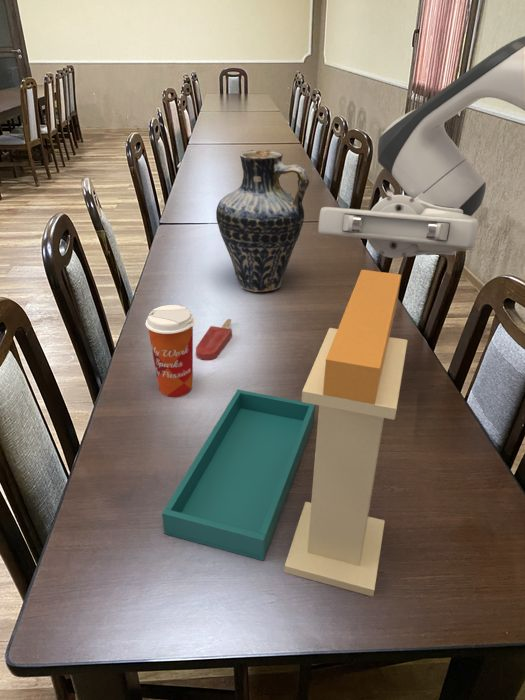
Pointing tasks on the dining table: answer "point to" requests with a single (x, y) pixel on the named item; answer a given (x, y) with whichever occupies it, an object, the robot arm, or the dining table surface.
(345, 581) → the stand
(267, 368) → the dining table surface
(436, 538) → the dining table surface
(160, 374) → the paper cup
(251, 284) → the jug
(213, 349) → the popsicle
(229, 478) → the tray
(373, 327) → the orange rectangular bar
